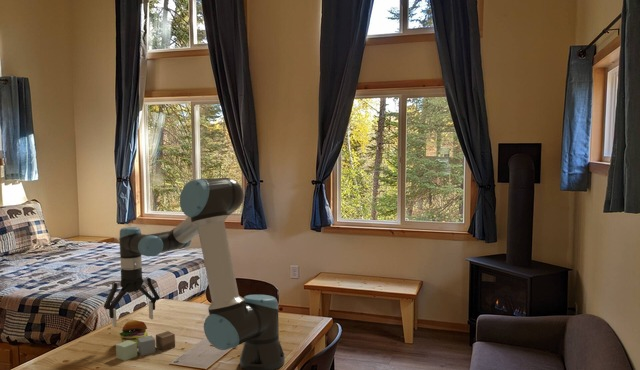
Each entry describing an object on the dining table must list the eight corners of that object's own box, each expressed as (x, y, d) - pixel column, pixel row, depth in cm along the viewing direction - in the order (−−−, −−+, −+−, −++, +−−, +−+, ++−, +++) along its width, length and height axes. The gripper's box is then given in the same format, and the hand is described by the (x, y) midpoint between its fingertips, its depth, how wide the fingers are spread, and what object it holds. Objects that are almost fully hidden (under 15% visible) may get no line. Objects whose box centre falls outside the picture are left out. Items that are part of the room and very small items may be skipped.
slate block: (155, 352, 176) (154, 339, 176) (141, 356, 173) (140, 342, 173) (152, 348, 180) (151, 335, 180) (138, 351, 178) (137, 338, 177)
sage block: (137, 356, 173) (136, 342, 173) (125, 361, 169) (124, 347, 169) (128, 353, 176) (128, 339, 176) (116, 358, 172) (115, 344, 172)
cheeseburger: (118, 350, 178) (117, 322, 180) (122, 347, 188) (121, 321, 190) (147, 346, 181) (146, 319, 183) (149, 343, 191) (148, 317, 193)
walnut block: (175, 347, 181) (174, 334, 181) (162, 351, 177) (162, 337, 177) (168, 343, 184) (167, 331, 184) (156, 347, 181) (155, 334, 181)
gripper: (160, 261, 195) (162, 313, 196) (93, 270, 180) (96, 326, 181) (166, 264, 189) (168, 317, 190) (98, 274, 174) (100, 332, 175)
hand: (133, 322), depth 186 cm, fingers open, 13 cm apart
